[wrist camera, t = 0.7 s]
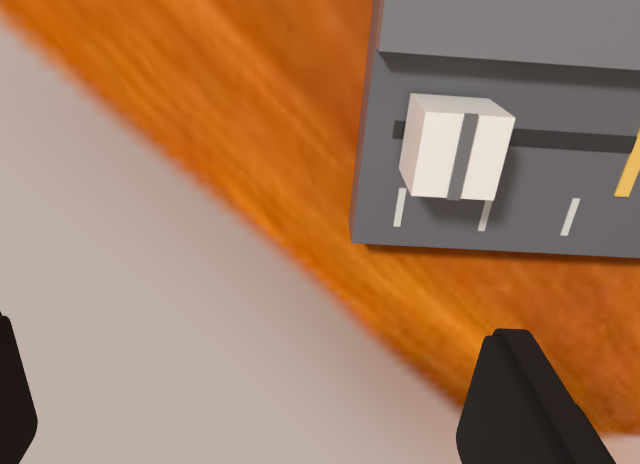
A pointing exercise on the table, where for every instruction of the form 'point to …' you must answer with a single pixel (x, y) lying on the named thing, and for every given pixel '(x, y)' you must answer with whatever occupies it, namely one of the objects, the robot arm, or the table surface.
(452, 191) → the fader knob
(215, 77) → the table surface
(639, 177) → the console
